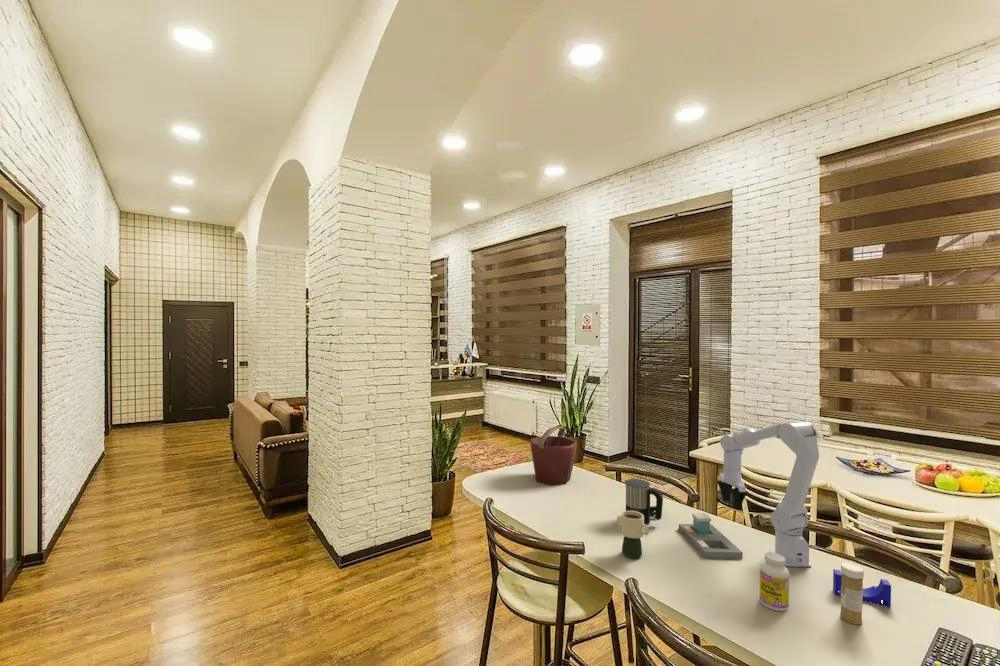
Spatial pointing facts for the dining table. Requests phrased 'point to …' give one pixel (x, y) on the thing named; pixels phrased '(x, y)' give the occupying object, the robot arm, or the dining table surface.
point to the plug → (701, 523)
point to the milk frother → (643, 499)
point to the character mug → (632, 532)
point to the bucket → (553, 457)
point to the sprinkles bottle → (852, 593)
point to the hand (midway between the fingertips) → (731, 504)
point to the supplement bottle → (774, 582)
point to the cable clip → (867, 590)
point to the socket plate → (711, 543)
